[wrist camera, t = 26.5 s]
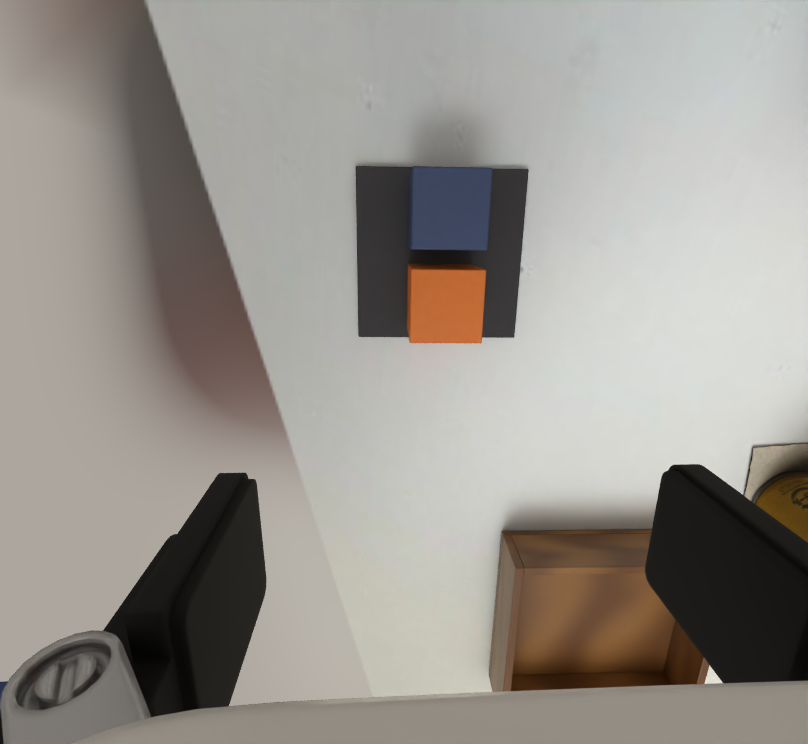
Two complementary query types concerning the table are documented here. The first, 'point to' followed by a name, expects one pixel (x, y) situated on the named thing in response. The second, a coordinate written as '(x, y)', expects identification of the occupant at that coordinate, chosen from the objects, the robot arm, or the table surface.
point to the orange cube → (445, 303)
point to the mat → (432, 251)
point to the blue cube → (449, 208)
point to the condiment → (781, 485)
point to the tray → (584, 615)
